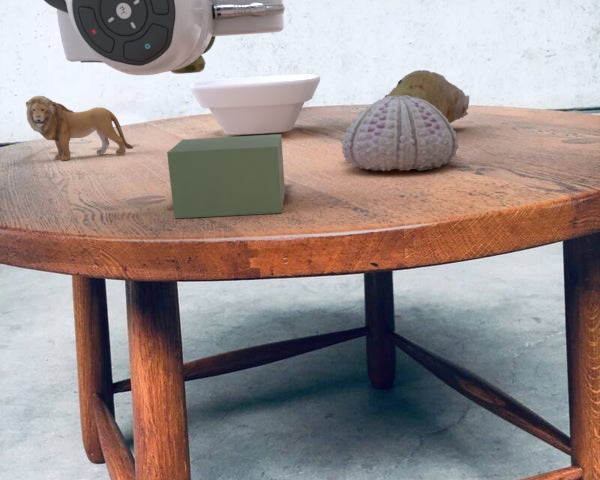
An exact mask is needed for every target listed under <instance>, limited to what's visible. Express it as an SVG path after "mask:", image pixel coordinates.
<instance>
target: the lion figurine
mask: <svg viewBox="0 0 600 480" xmlns="http://www.w3.org/2000/svg"><path fill="white" fill-rule="evenodd" d="M25 107H26V119H27V122H28V124H29V126H30V128H31V129H32V130H33V131H34V132H37V133H39V134H40V135H41V136H42V137H43V139H45V140H47V141H54V144H55V147H56V149H57V152H58V153H57V154H56V155H55V156H54V159H55V160H60V161H70V159H71V151H70V140H71V139H83V138H86V137H88V136H89V135H91V134H92V133H94V132H96V134H97V135H98V137H99V139H100V140H101V147H100V149H97V150H96V152H95V153H96V155H105V154H106V152H107V150H108V148H109V146H110V141H111V142H114V143H115V144H117V146H118V147H119V149H116V150H115V154H116V155H118V156H121V155H125V154H126V149H128V150H130V149H131V150H133V149H134V147H133V146H132V145H131V144H129V143H128V142H127V140H126V138H125V135H124V132H123V129H122V127H121V124H120V122H119V120H118V118H117V117H116V116H115V114H114V113H113V111H111V110H109V109H107V108H105V107H101V106H100V107H99V106H98V107H97V106H96V107H93V108H91V109H88V110H83V111H74V110H71V109H68V108H67V106H64V105H63V104H62V103H58V102H56V101H53V100H52V99H50V98H49V97H46V96H45V95H35V96H32V97H31V98H29V99H28V101H26V102H25ZM113 124H114V126H115V128H116V130H115V128H114V126H113ZM117 132H118V133H117ZM109 140H110V141H109Z"/></svg>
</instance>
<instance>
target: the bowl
mask: <svg viewBox="0 0 600 480" xmlns="http://www.w3.org/2000/svg"><path fill="white" fill-rule="evenodd" d="M320 82H321V76H320V75H319V74H315V73H314V74H313V73H300V74H299V73H298V74H297V73H296V74H278V75H259V76H243V77H242V76H241V77H229V78H216V79H205V80H200V81H199V80H198V81H195V82H191V83H190V84H189V90H190V91H191V93H192V95H193V96H194V98H195V99H196V101H197V103H198V104H199V105H200V107H201V108H203V109H208V110H209V111H210V112H211V114H212V116H213V117H214V118H215V120H216V121H217V123H218V125H219V126H220V128H221V129H222V131H223V133H224V134H225V135H227V136H240V135H243V136H246V135H265V134H276V133H285V132H288V131H291V130H292V129H293V128H294V127H295V124H296V122H297V120H298V117H299V115H300V113H301V111H302V110H303V109H302V108H303V106H304V105H305V103H306V102H308V101H311V100H312V99H313V97H314V95H315V93H316V90H317V89H318V86H319V84H320Z"/></svg>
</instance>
